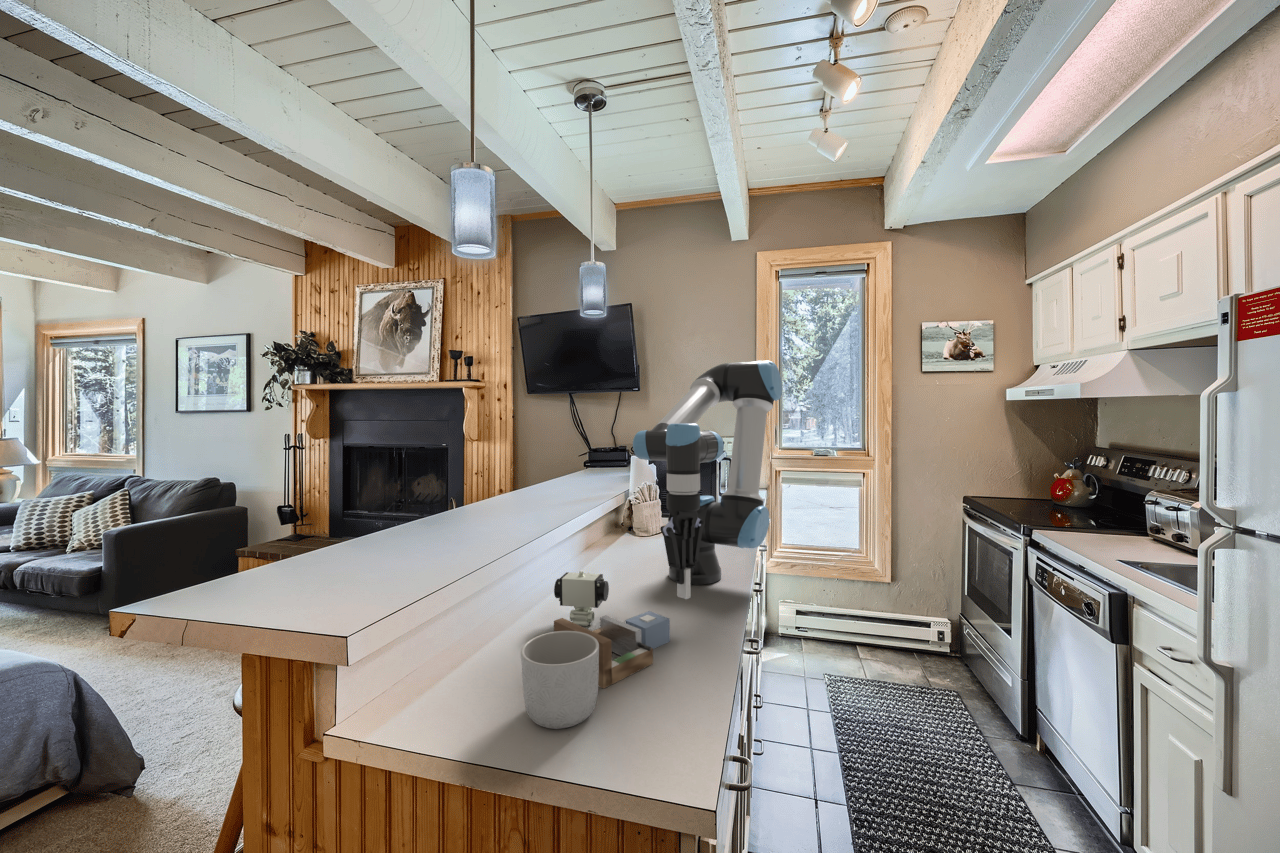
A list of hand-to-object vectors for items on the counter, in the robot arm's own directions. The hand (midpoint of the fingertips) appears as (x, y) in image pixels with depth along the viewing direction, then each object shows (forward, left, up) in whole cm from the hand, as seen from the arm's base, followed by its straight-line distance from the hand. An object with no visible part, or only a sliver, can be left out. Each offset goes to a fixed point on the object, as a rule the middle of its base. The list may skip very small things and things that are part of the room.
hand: (683, 596), depth 117 cm
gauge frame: (+23, 0, -7) cm, 24 cm away
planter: (+39, +8, -7) cm, 41 cm away
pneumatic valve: (+14, -18, -7) cm, 24 cm away
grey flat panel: (+19, +1, -6) cm, 20 cm away
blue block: (+11, 0, -7) cm, 13 cm away
